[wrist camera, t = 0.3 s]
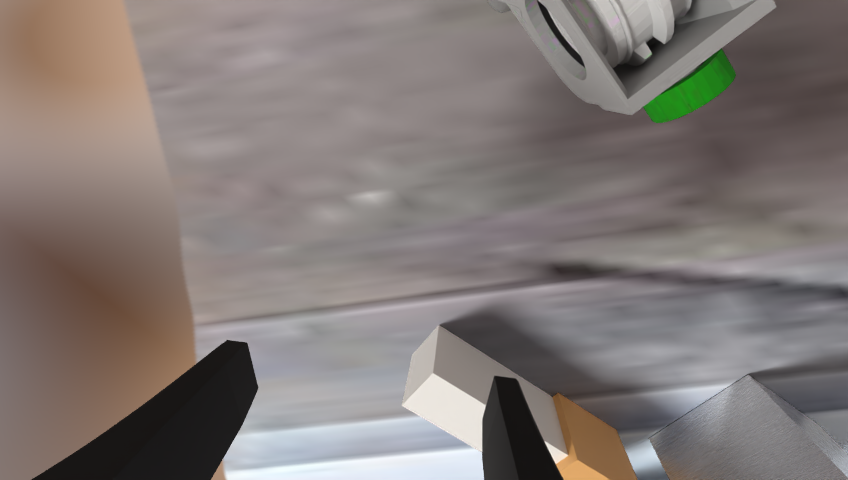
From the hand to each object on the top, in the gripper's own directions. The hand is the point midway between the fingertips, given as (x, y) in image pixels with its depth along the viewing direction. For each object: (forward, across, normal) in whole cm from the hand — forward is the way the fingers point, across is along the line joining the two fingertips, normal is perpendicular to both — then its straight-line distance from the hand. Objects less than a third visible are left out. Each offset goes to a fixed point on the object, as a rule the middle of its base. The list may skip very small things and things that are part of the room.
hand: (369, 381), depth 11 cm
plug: (+9, -8, +11) cm, 16 cm away
